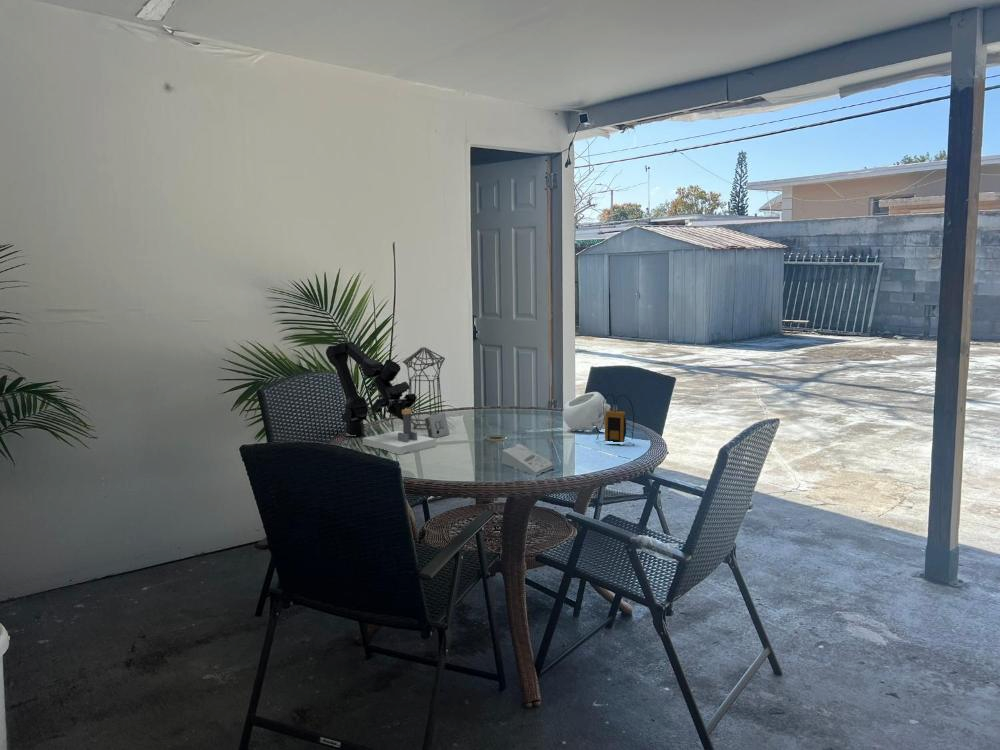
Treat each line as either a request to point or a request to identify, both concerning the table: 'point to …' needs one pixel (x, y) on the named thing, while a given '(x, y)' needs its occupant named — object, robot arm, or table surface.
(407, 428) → the handle
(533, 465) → the ramp
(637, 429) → the table surface
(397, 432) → the thin white panel
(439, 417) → the electrical switch
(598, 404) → the skull planter
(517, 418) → the table surface
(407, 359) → the geometric lantern
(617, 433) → the multimeter
